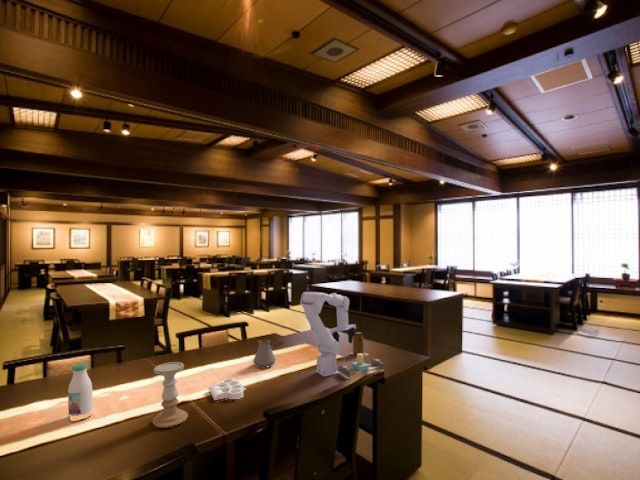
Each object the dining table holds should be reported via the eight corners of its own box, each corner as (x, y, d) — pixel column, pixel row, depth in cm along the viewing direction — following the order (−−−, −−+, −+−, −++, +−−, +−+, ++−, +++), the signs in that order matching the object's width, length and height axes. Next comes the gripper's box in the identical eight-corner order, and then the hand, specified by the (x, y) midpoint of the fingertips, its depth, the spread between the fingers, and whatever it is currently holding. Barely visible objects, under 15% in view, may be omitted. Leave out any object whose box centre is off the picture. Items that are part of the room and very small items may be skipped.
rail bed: (347, 380, 169) (347, 370, 168) (338, 374, 177) (337, 364, 176) (385, 372, 178) (384, 362, 178) (374, 366, 186) (374, 357, 186)
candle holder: (146, 421, 134) (145, 367, 134) (179, 409, 143) (178, 358, 143) (159, 433, 126) (158, 375, 125) (193, 420, 134) (192, 366, 134)
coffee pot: (249, 366, 190) (248, 337, 190) (265, 360, 199) (265, 333, 199) (276, 375, 176) (276, 344, 176) (293, 368, 185) (292, 339, 185)
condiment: (358, 351, 212) (358, 330, 212) (369, 354, 206) (368, 333, 205) (349, 353, 207) (349, 332, 207) (360, 357, 201) (359, 335, 201)
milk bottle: (88, 410, 144) (87, 360, 144) (96, 416, 139) (94, 364, 139) (65, 418, 138) (64, 365, 138) (72, 424, 133) (71, 370, 133)
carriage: (359, 371, 173) (359, 357, 173) (352, 366, 179) (351, 353, 179) (368, 369, 175) (368, 355, 175) (360, 364, 181) (360, 351, 181)
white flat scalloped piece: (206, 390, 162) (239, 383, 169) (216, 406, 146) (251, 397, 153) (206, 382, 162) (238, 376, 169) (215, 397, 146) (251, 390, 153)
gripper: (333, 323, 183) (335, 349, 184) (358, 318, 189) (359, 343, 190) (327, 319, 189) (329, 345, 190) (351, 315, 195) (352, 339, 196)
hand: (344, 344), depth 190 cm, fingers open, 7 cm apart
